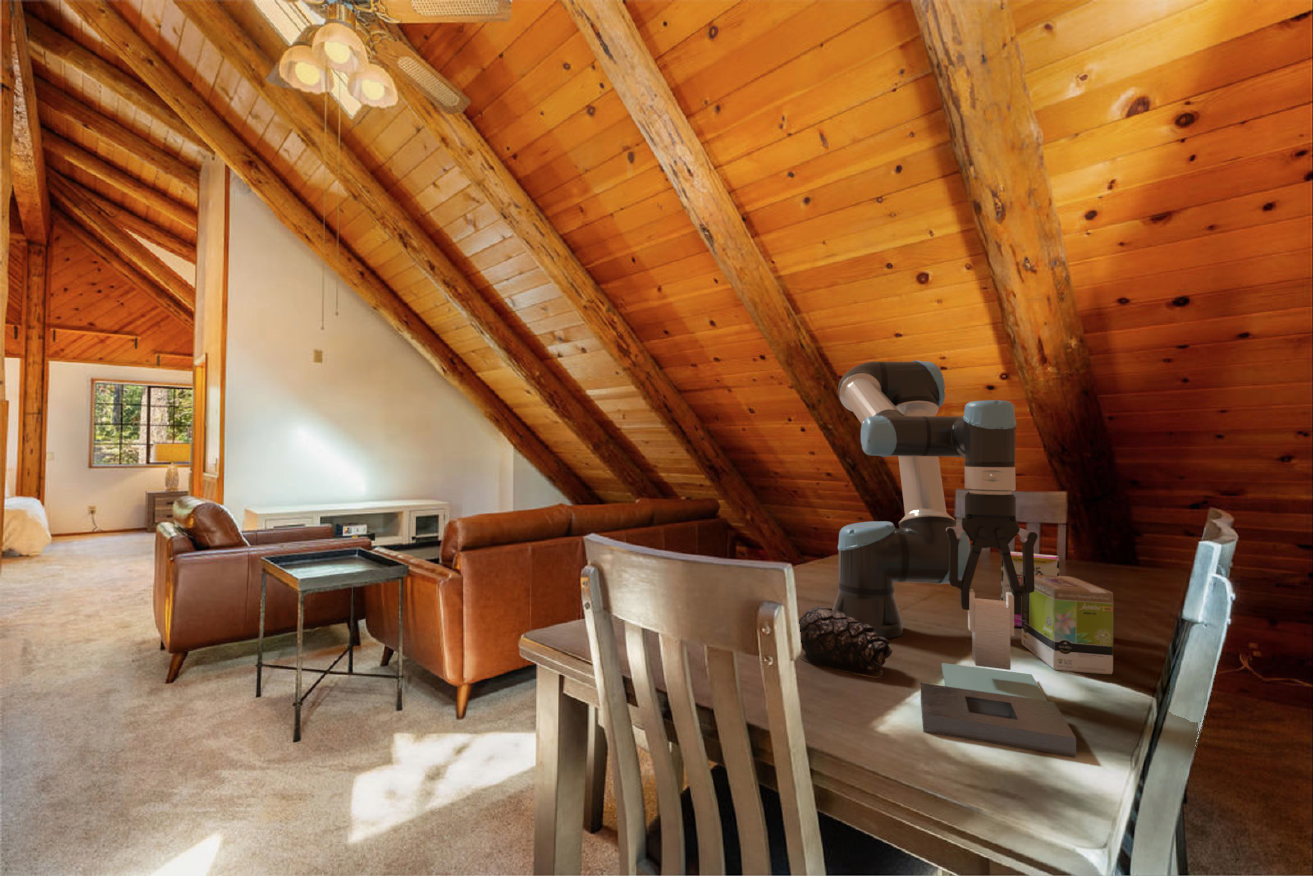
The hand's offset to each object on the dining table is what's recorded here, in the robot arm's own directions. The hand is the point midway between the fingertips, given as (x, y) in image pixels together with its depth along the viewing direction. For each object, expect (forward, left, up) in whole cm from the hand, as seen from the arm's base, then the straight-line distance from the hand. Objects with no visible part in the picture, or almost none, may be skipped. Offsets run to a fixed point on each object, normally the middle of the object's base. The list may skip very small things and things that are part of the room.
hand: (990, 631), depth 100 cm
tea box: (+15, +21, -10) cm, 28 cm away
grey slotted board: (-2, -16, -9) cm, 18 cm away
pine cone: (-24, +2, -10) cm, 26 cm away
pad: (0, 0, -9) cm, 9 cm away
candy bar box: (+13, +42, -10) cm, 45 cm away
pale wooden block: (0, 0, -5) cm, 5 cm away
